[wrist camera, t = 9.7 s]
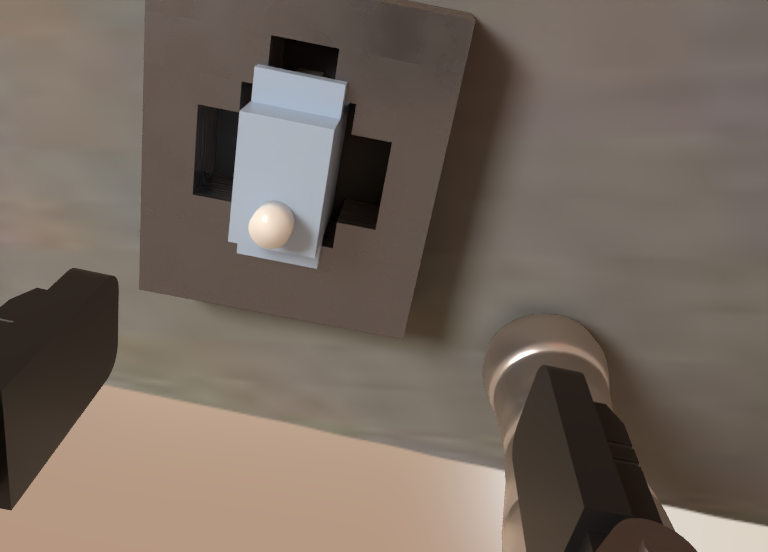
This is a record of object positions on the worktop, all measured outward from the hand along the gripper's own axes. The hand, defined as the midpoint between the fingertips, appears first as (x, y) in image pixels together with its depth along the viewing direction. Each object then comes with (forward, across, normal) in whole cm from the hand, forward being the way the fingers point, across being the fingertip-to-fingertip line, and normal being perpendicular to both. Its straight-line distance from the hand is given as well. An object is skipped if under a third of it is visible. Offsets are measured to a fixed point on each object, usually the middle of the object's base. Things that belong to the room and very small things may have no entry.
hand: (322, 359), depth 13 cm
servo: (+23, +4, +4) cm, 24 cm away
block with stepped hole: (+23, +4, +4) cm, 24 cm away
